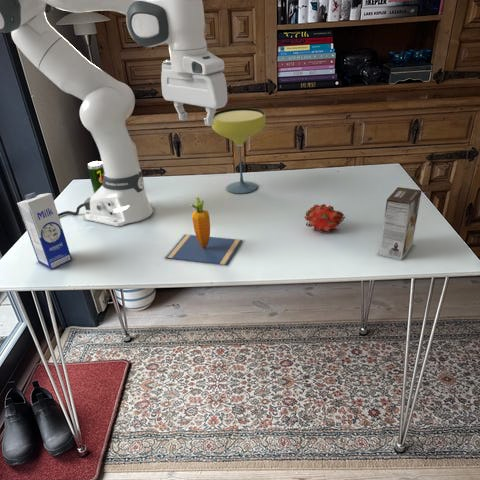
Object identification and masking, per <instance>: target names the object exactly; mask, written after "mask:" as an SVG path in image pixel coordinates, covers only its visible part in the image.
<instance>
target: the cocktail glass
mask: <svg viewBox="0 0 480 480" xmlns="http://www.w3.org/2000/svg"><path fill="white" fill-rule="evenodd" d="M266 119H267V118H266V113H265V111H264V110H262V109H259V108H254V107H253V108H252V107H235V108H227V109H222V110H219V111H216V112H215V115H214V117H213V123H214V124H213V125H212V126H211V128H212V130H213V131H214V132H215V133H216V134H217V135H219V136H221V137H224V138H226V139H228V140H231V141H232V142H233V143H234V144H235V145H236V146H237V147H238V154H239V157H238V158H239V171H240V172H239V181H236V182H232V183H230V184H229V185H227V187H226V189H227V191H228V192H230V193H232V194H238V195H241V194H242V195H243V194H249V193H252V192H254V191H256V190H257V188H258V185H257V184H256V183H255V182H252V181H244V176H243V163H242V146H243V145H244V144H245V143H246V142H247V140H248V139H250V138H251V137H253V136H255V135H257V134H259V133H260V132H261V131H262V130H263V129H264V128H265V126H266V122H267V120H266Z"/></svg>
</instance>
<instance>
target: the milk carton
mask: <svg viewBox="0 0 480 480" xmlns="http://www.w3.org/2000/svg"><path fill="white" fill-rule="evenodd" d="M24 198H25V199H24V200H22V201H19V202H17V203H16V204H17V206H18V209H19V212H20V215H21V217H22V221H23V223H24V226H25V229H26V231H27V234H28V237H29V240H30V243H31V246H32V247H33V248H32V249H33V251H34V254H35V257H36V260H37V263H38V264H40V265H42V266H43V267H45V268H47V269H49V270H53V269H55V268H57V267H60V266H62V265H64V264H66V263H68V262H70V261H72V260H73V259H72V255H71V251H70V249H69V245H68V242H67V240H66V239H67V238H66V236H65V232H64V230H63V226H62V223H61V219H60V216H58V214H59V212H58V210H57V207H56V203H55V200H54V196H53V194H52V193H50V192H46V193H41V194H38V195H37V193H36V192H30V193H28V194H25V195H24Z"/></svg>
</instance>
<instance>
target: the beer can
mask: <svg viewBox="0 0 480 480" xmlns="http://www.w3.org/2000/svg"><path fill="white" fill-rule="evenodd" d="M87 171H88V174H89V179H90V182H91V186H92V191H93V194H94V193H95V192H96V191H97V190H98V189H99V188H100V187H101V186H102V183H103V180H101V181H100V182H99V180H100V179H98V178H100V177H101V176H102V175H103V174H104V168H103V164H102V161H100V160H99V161H98V160H95V161H91V162H89V163H87Z"/></svg>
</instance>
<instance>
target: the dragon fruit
mask: <svg viewBox="0 0 480 480" xmlns="http://www.w3.org/2000/svg"><path fill="white" fill-rule="evenodd" d="M304 219H305V221H307V222H306V225H305V226H306V227H309V228H313V229H314V231H318V232H319V233H320V234H323V232H324V231H327V232H331V233H332V232H334V231H336V230H337V227H338V226H339V225H341V223H342V222H343V221H344V220H345V219H346V216H345V214H344V213H343V212H342V211H339V210H335V209H334V206H333V205H328V206H327V204H325V203H323V204H321V205H319V204H313V206H312V207H310V208H309V209H308V210H307V211H305V216H304Z"/></svg>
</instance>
